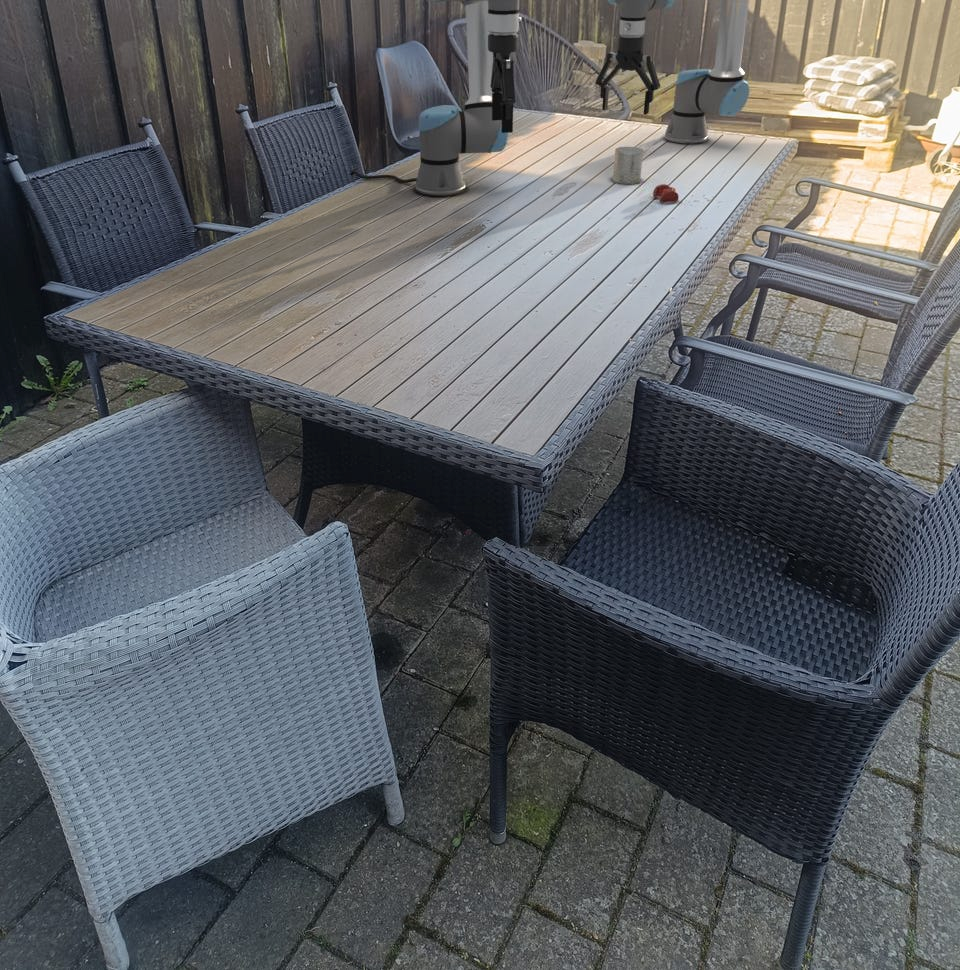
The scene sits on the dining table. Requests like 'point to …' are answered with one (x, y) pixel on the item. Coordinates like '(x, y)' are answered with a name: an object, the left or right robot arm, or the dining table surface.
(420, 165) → the left robot arm
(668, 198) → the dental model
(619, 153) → the tin
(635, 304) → the dining table surface
